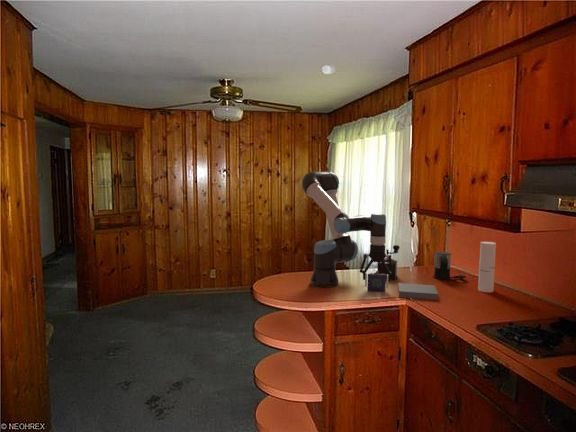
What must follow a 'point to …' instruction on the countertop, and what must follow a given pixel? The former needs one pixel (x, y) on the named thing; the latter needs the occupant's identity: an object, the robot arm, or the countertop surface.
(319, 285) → the robot arm
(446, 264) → the milk frother
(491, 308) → the countertop surface
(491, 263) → the cylindrical container
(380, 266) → the coffee grinder
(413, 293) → the base board
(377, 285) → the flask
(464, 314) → the countertop surface
